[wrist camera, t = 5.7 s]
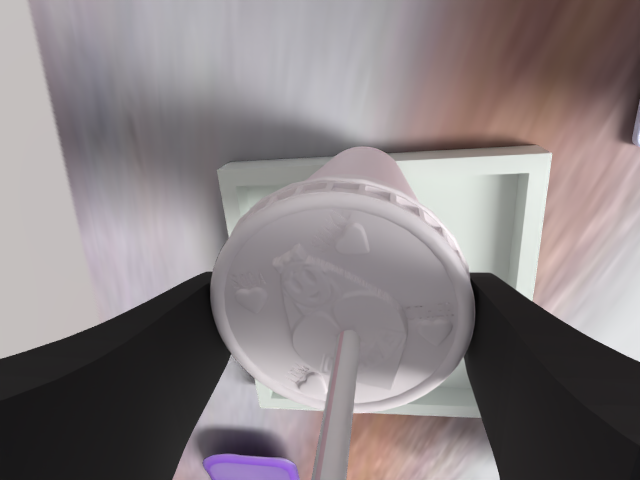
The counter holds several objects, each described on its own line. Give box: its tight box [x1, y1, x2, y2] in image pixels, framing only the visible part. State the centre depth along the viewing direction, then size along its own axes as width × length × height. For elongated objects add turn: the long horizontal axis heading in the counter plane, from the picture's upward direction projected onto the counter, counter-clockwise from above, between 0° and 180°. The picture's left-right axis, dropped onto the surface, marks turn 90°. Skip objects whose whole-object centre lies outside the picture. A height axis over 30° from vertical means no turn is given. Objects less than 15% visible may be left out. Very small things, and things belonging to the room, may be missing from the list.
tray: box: [217, 145, 552, 418], centre depth 22 cm, size 15×15×2 cm
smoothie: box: [210, 146, 475, 480], centre depth 12 cm, size 6×6×14 cm
